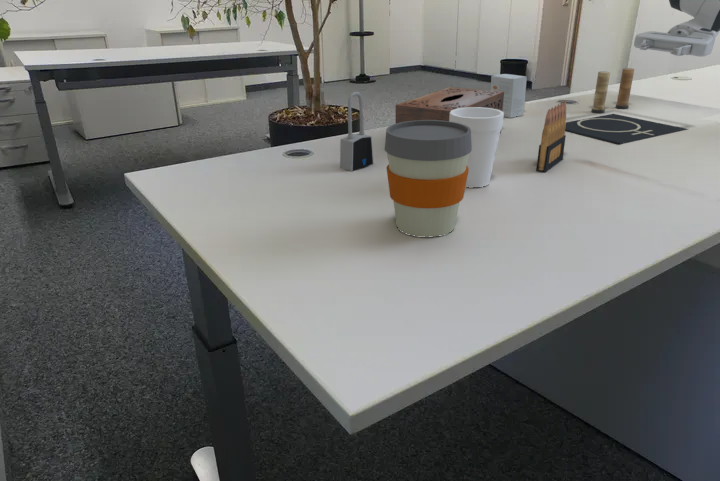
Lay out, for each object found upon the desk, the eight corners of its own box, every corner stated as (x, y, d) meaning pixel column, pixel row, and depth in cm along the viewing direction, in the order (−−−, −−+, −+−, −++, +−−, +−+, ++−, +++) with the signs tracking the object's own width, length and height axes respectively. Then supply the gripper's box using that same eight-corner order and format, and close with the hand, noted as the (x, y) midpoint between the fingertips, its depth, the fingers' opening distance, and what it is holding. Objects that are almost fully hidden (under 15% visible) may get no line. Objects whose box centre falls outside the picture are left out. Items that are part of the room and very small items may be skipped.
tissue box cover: (453, 158, 116) (455, 111, 112) (395, 149, 124) (395, 104, 120) (500, 133, 135) (504, 91, 131) (448, 126, 143) (449, 87, 139)
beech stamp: (630, 107, 158) (637, 69, 153) (622, 109, 156) (629, 70, 152) (620, 106, 160) (627, 67, 156) (612, 107, 159) (619, 68, 154)
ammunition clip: (545, 172, 107) (552, 110, 102) (535, 171, 108) (542, 109, 103) (562, 159, 114) (570, 100, 109) (554, 157, 115) (561, 99, 110)
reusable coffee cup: (481, 236, 81) (489, 135, 74) (401, 248, 78) (402, 144, 71) (445, 206, 92) (449, 116, 85) (374, 216, 89) (373, 123, 82)
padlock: (353, 171, 110) (351, 95, 104) (338, 167, 113) (335, 93, 106) (375, 163, 114) (374, 90, 108) (360, 160, 117) (358, 88, 111)
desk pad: (690, 131, 132) (691, 129, 132) (624, 146, 122) (624, 143, 122) (613, 115, 150) (613, 113, 150) (549, 126, 140) (549, 124, 139)
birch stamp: (607, 112, 153) (613, 72, 149) (598, 113, 152) (605, 73, 147) (597, 110, 156) (603, 70, 152) (588, 111, 155) (594, 72, 150)
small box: (523, 115, 152) (527, 76, 148) (510, 118, 149) (513, 78, 145) (502, 111, 158) (505, 73, 154) (488, 113, 155) (491, 75, 151)
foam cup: (505, 188, 99) (512, 116, 93) (456, 192, 97) (460, 119, 92) (486, 172, 107) (491, 105, 102) (440, 176, 106) (443, 108, 100)
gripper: (649, 24, 166) (625, 33, 159) (722, 31, 152) (699, 42, 145) (645, 45, 170) (621, 55, 163) (716, 55, 156) (693, 66, 149)
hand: (658, 49), depth 154 cm, fingers open, 8 cm apart
